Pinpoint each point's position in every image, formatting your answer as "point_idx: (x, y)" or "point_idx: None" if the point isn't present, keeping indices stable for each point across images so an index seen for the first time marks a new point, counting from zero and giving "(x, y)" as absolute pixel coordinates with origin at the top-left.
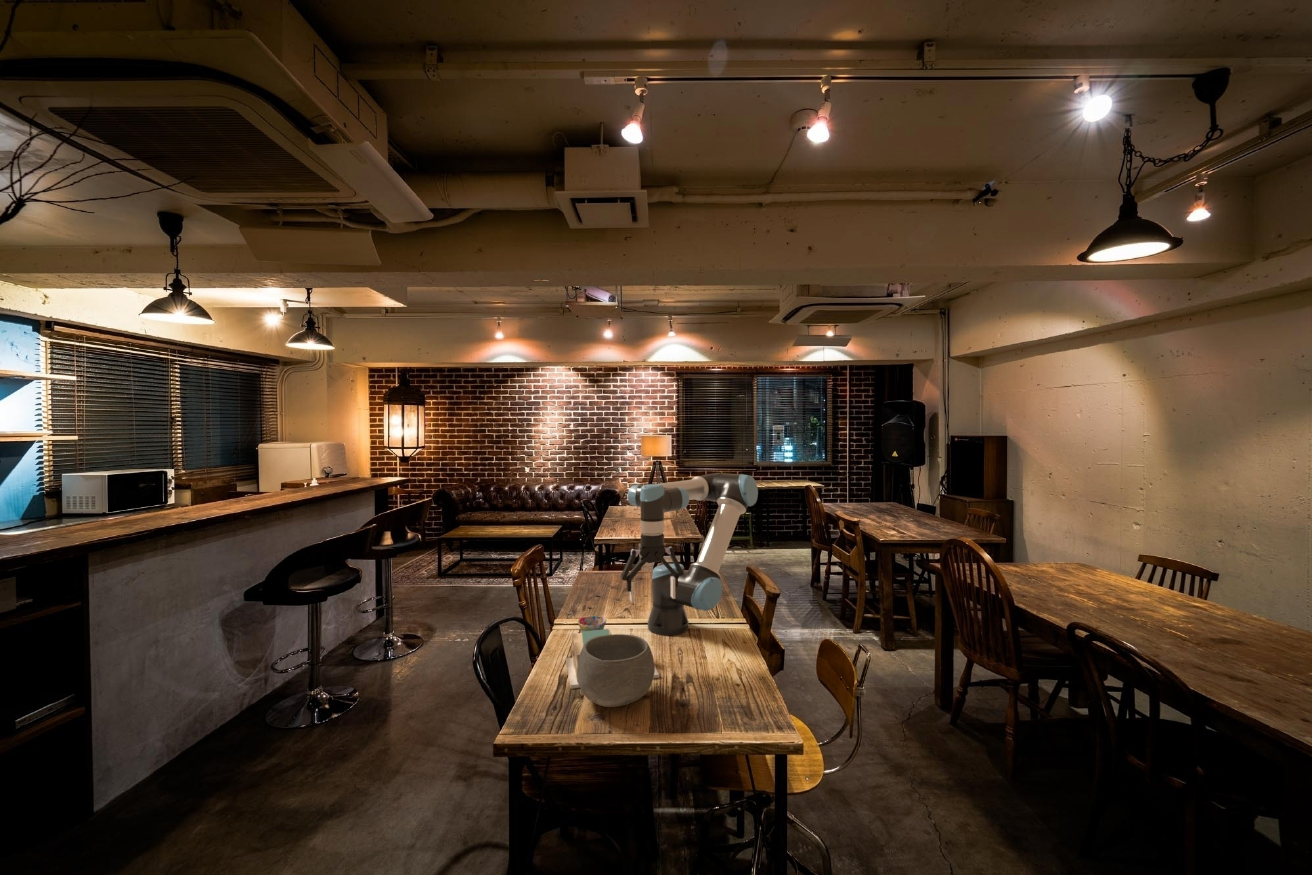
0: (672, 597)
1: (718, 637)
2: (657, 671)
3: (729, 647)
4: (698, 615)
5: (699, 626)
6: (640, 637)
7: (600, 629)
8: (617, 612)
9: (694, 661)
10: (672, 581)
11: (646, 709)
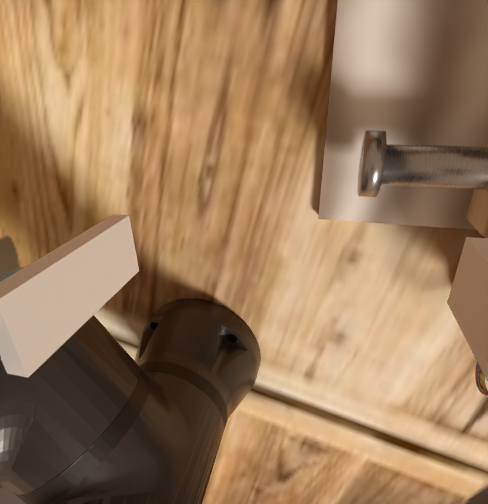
0: (129, 231)
1: None
2: (338, 8)
3: (57, 169)
4: None
5: (120, 323)
6: (365, 178)
7: None
8: (312, 471)
9: (176, 97)
10: (36, 297)
11: None
